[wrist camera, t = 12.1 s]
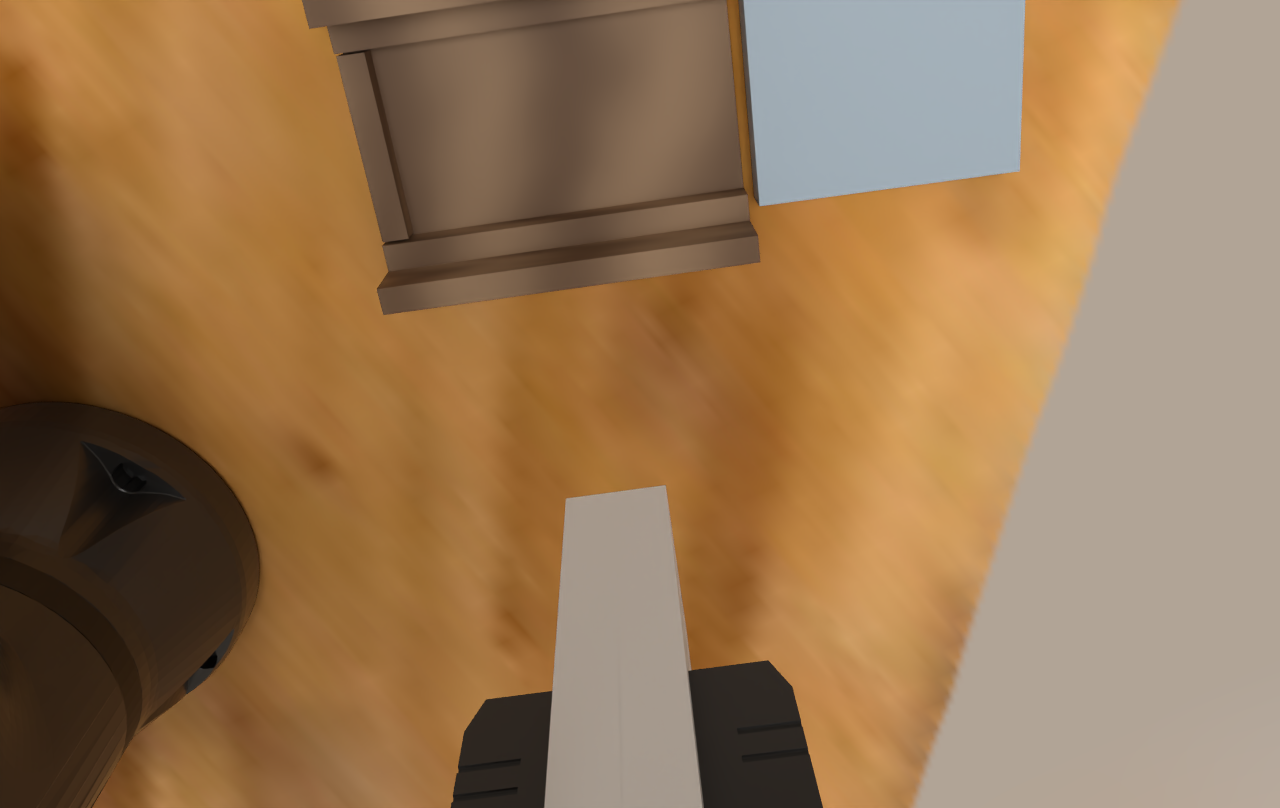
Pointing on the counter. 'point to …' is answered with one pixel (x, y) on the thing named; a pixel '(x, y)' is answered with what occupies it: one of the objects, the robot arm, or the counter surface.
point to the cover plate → (880, 93)
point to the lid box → (542, 142)
